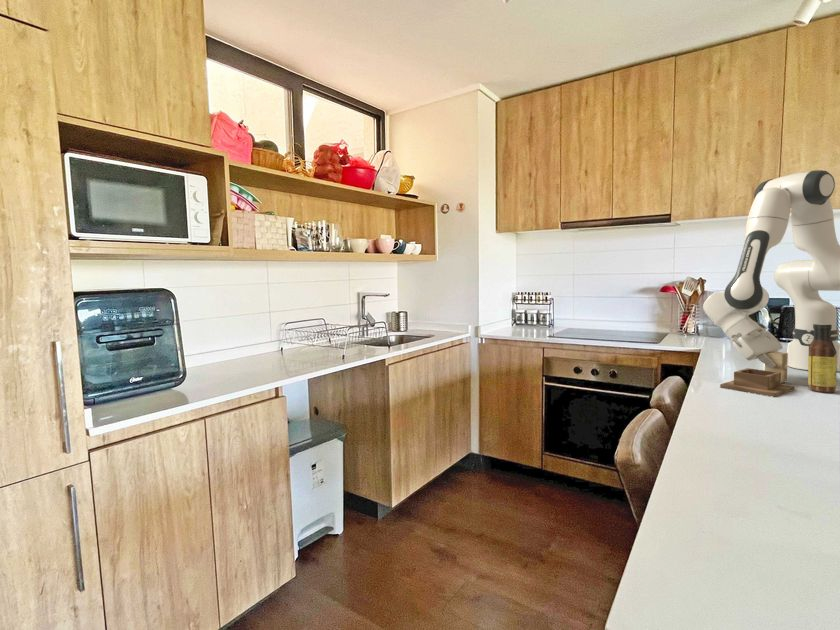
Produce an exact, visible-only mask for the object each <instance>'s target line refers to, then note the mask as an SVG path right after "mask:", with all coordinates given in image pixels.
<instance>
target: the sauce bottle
mask: <svg viewBox="0 0 840 630" xmlns="http://www.w3.org/2000/svg"><path fill="white" fill-rule="evenodd" d="M813 329H814V339H813V341H812V342H811V344H810V345H809V355H808V370H807V384H808V386H807V387H808V388H807V389H808V390H810V391H813V392H818V393H827V394H828V393H835V392H836V391H837V389H836V388H837V372H838V371H837V367H836V366H837V352H836V350H835V347H834V345H833V342H832V340H831V329H832V325H831V324H822V323H818V324H813Z"/></svg>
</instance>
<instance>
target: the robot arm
mask: <svg viewBox="0 0 840 630" xmlns="http://www.w3.org/2000/svg"><path fill="white" fill-rule="evenodd" d="M835 184H836V182H835V179H834V176H833V175H832V174H831V173H830V172H829V171H828V170H822V169H821V170H820V169H816V170H811V171H806V172H804V171H803V172H802V171H801V172H796V173H790V174H788V175H783V176H780V177H777V178H770V179H767V180H765V181H762V182H761V183H759V184H758V185H757V187H756V188H755V190H754V193H753V201H752V204H751V205H750V206H751V207H750V208H749V209H750V210H749V212H748V215H747V220H746V223H745V224H746V225H745V229H744V239H743V248H742V251H741V254H740V259H739V262H738V265H737V269H736V272H735V275H734V276H733V277H732V279H731V280H730V282H729V283H727V286H726V287H725V289H724V290H721V291H719V290H717V291H714V292H712V293H711V294H710V295H708V296H707V297H706V298H705V299H704V302H703V304H702V310H703V311H704V313H705V314H706V315H707V317H708V318H709V319H710V320H711V321H712V322H713V323H714V325H716V326H717V327H719V328H721V330H722V331H723V333H724V334H725V335H726V337H728V339H729V340H731V341H732V345H733V347H735V349H736V350H737V351H738V353H739V354H740V355H741V356H742V357H743V358H744V359H745V360H747V361H749V362H750V361H752V360H756V359H758V361H760V362H762V363H763V364H764V365H765V364H766V365H767V366H768V367H769V368H774V367H776V366H777V364H776V363H775V362H774V361H772V360H770V359H769V358H768V357H767V355H766V354H765V353H769V352H772V351H773V352H780V351H781V350H783V349H784V347H783V345H782V343H781V342H780V341H779V340H778V339H777V338H776V337H775V335H773V334H772V333H771V332H770V331H769V330H768V328H767V326H766V325H765V324H764V323H760V322H756V321H755V320H753V319H752V318H751V317H750V316H751V315H753V314H756V313H757V312H759V311H761V310H763V309H764V308H765V307H767V305H768V304H769V300H770V296H769V293H768V291H767V290H766V289H765V288H764V287H763V286H762V283H761V274H762V271H763V267H764V263H765V260H766V256H767V254H768V252H769V250H770V249H772V248H773V247H776V246H777V245H779V244H780V243H781V242H782V240H783V238H784V236H785V234H786V231H787V228H788V226H789V225H788V224H789V221H790V219H791V229H792V231H791V232H792V241H793V245H794V246H795V248H797V249H798V250H800V251H802V252H805V253H807V254H808V255H810V257H811V258H812V259H804V260H794V261H793V260H792V261H788V262H784V263H780V264H779V266H777V267H776V269H775V271H774V274H773V279H774V282H775V284H776V285H777V286H778V287H779V288H780V289H781V290H784V292H786V294H787V295H788V296H789V298H790V299H791V301H792V303H793V307H794V319H795V321H794V323H795V324H794V328H793V331H792V338H793V339H792V340H791V341H790V342H788V344H787V348H786V349H787V350H786V353H788V364H787V367H790V368H792V369H797V370H804V371H808V355H809V345H810V344H811V342H812V341H813V339H814V329H813V324H818V323H822V324H831V325H832V329H831V340H832V342H833V345H834V347H835V350H836V352H837V366H836V367H837V371H836V372H840V343H839V341H838V340H839V335H840V330H839V329H837V316H838V311H837V308H836V307H835V306H834V305H833V304H832V303H831V302H829V301H826V300H824V299H823V298H822V297H821V296H820V294H819V291H821V292H822V291H827V292H828V291H829V292H831V291H835V292H837V291H839V292H840V243H839V242H838V238H837V235H836V227H835V219H834V210H833V206H832V202H831V199H830V198H831V196H832V195H833V193H834V191H835V187H836V185H835ZM790 213H791V214H790ZM790 216H791V217H790Z"/></svg>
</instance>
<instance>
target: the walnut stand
mask: <svg viewBox="0 0 840 630" xmlns="http://www.w3.org/2000/svg"><path fill="white" fill-rule="evenodd" d="M719 388H721V389H725V390H731V389H732V391H738V392H744V393H748V392H750V393H749V394H754V393H756V394H755V395H760V394H762V395H761V396H765V395H768V396H767V397H771V396H773V397H772V398H775V397H778V396H780V394H781V395H783V393H784V394H785V392H786V393H789V392H791V391H790V390H792V391H794V390H795V389H796V388H795V385H790V384H782V383H781V373H779V372H772V371H765V369H764V370H763V369H755V368H748V367H747V368H743V369H740V370H739V369H738V370H736V371H733V380H731V381H727V382H724V383H720V384H719ZM793 389H794V390H793ZM788 391H789V392H788ZM777 395H778V396H777Z"/></svg>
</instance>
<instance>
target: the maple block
mask: <svg viewBox="0 0 840 630" xmlns="http://www.w3.org/2000/svg"><path fill="white" fill-rule="evenodd" d="M765 354H766V355H767V357H768V358H769V359H770V360H772V361H774V362H775V363H776V364H777V366H776V367H774V368H769V367H768V366H767V365H766V364H764V371H772V372H779V373H781V384H782V383H784V382H787V381H788V366H787V364H788V353H787V352H782V351H781V352H780V351H779V352H773V351H772V352H769V353H765Z"/></svg>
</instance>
